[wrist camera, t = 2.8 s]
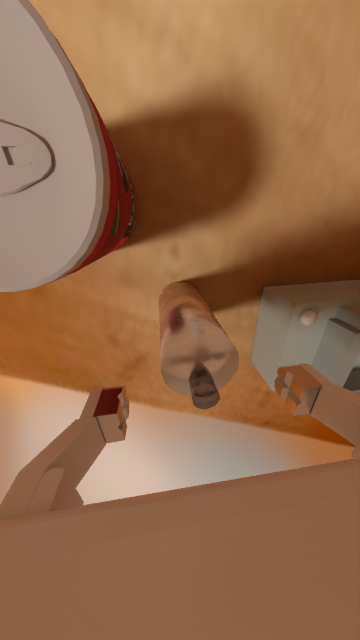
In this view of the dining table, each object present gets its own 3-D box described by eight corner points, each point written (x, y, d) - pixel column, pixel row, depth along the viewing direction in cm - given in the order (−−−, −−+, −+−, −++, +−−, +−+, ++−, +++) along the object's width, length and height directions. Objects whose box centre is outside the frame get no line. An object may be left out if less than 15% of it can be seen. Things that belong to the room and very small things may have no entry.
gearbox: (263, 286, 19) (354, 336, 10) (397, 276, 21) (579, 312, 12) (250, 360, 24) (306, 439, 15) (361, 348, 25) (472, 413, 16)
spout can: (156, 283, 18) (157, 356, 8) (200, 280, 18) (256, 345, 8) (160, 322, 20) (165, 421, 10) (200, 319, 20) (244, 410, 10)
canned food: (153, 235, 16) (148, 247, 6) (70, 267, 16) (-59, 326, 6) (109, 118, 12) (-70, -300, 3) (4, 163, 13) (-496, -52, 3)
